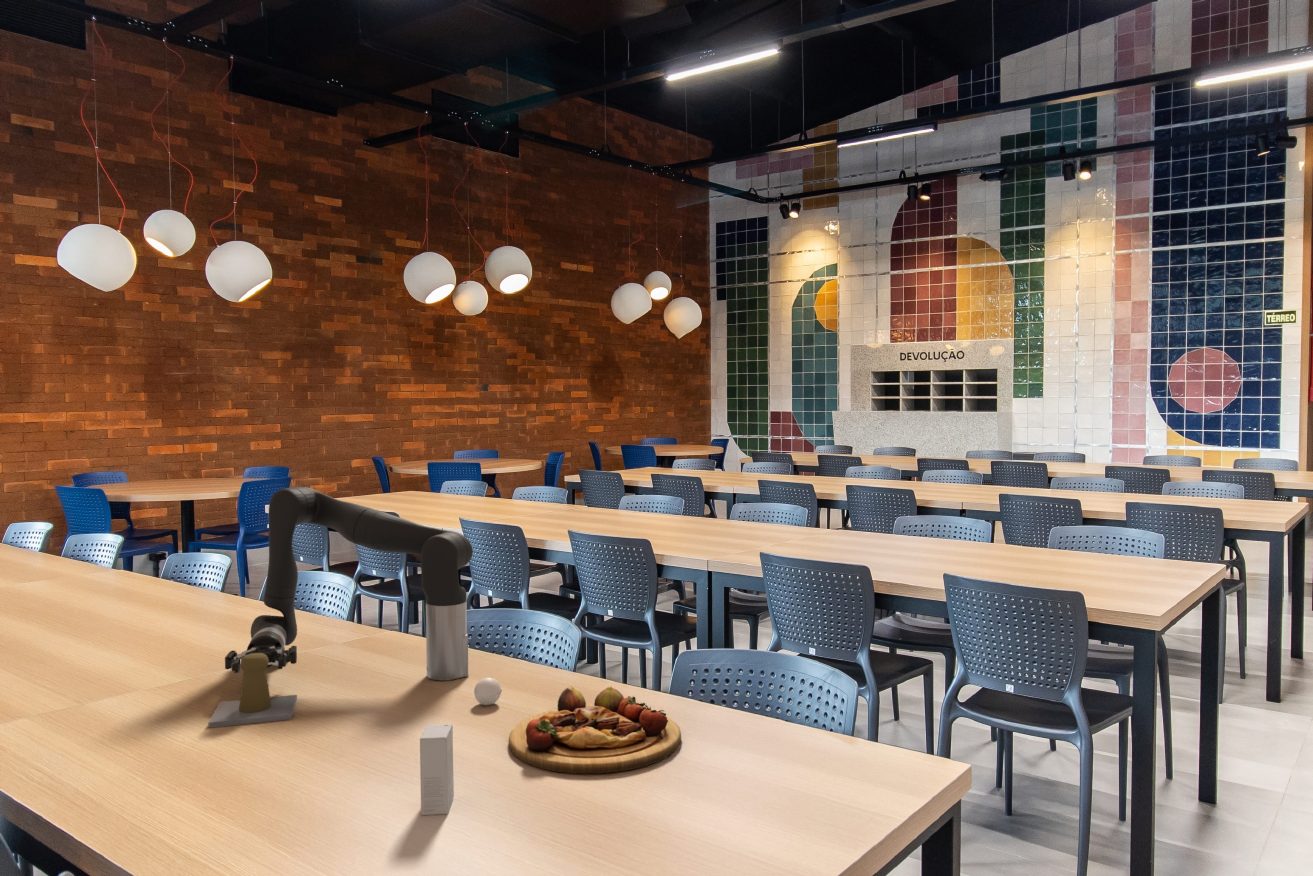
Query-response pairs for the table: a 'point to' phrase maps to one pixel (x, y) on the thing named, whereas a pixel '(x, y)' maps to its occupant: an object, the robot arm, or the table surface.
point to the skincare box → (436, 769)
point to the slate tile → (231, 715)
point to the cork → (254, 683)
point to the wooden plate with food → (595, 735)
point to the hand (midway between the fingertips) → (258, 666)
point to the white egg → (487, 691)
